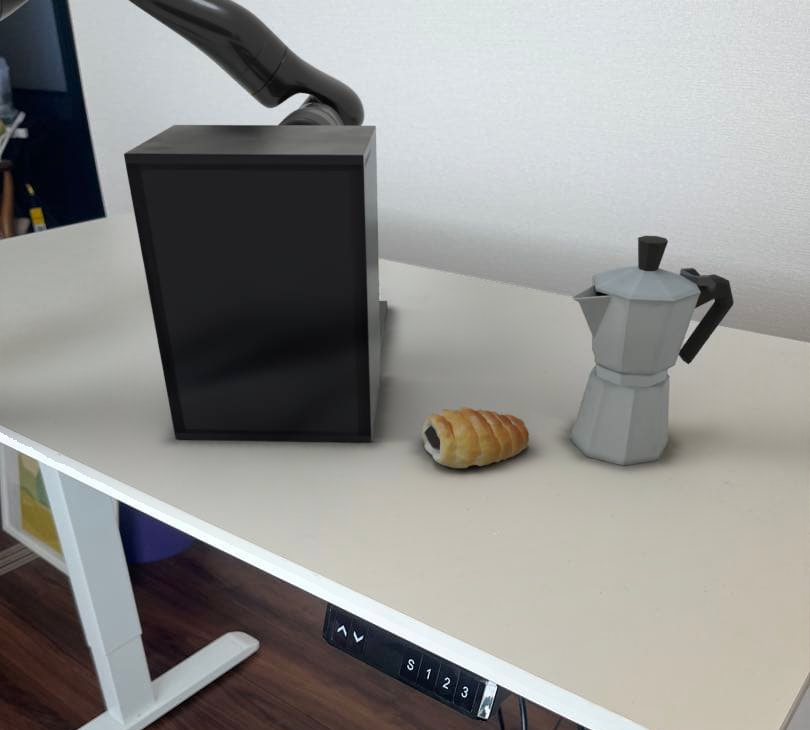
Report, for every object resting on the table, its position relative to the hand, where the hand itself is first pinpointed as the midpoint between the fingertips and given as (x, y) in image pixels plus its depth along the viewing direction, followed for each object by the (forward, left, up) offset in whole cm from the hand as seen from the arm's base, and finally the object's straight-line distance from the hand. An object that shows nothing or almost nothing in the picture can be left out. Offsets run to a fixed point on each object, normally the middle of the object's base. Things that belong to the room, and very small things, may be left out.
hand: (284, 180), depth 78 cm
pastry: (+21, -15, -19) cm, 32 cm away
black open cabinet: (0, +1, -19) cm, 19 cm away
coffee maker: (+35, -10, -19) cm, 41 cm away
